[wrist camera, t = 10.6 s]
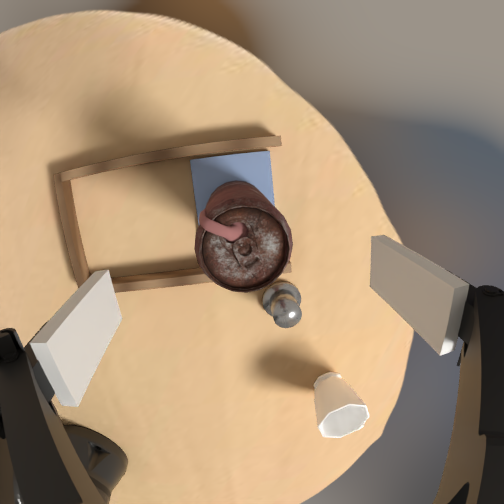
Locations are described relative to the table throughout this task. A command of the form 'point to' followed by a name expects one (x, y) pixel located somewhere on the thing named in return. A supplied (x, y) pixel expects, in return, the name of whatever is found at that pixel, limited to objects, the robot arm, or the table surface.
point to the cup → (338, 406)
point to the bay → (64, 177)
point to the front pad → (231, 174)
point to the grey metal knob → (283, 303)
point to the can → (242, 238)
